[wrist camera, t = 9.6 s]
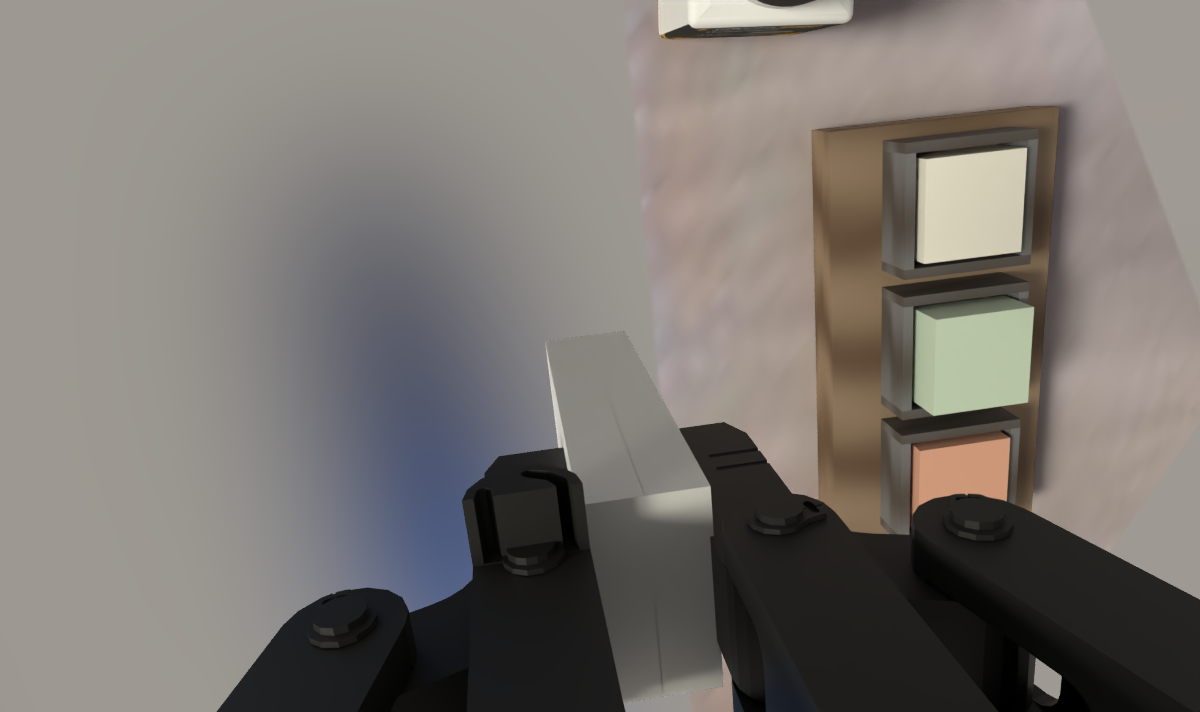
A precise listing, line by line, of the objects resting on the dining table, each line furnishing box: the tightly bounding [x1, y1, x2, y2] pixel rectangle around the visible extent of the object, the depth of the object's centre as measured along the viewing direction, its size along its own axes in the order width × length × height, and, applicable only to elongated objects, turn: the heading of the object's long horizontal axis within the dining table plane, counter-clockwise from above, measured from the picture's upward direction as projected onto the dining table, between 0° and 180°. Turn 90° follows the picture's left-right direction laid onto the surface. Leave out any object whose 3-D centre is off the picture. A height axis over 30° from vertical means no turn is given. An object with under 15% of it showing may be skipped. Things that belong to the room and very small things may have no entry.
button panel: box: [812, 106, 1059, 535], centre depth 45 cm, size 23×12×5 cm, turn 6°
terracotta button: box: [909, 431, 1010, 528], centre depth 45 cm, size 5×5×2 cm
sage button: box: [912, 295, 1034, 416], centre depth 42 cm, size 5×5×2 cm
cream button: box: [914, 145, 1027, 264], centre depth 41 cm, size 5×5×2 cm
